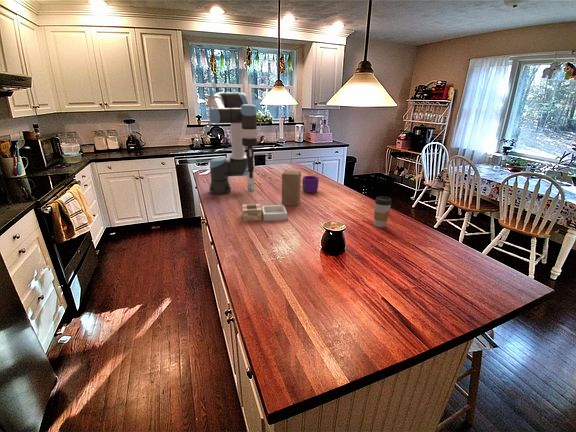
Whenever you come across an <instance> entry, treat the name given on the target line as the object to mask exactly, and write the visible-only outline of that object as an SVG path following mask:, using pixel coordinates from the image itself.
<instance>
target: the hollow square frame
mask: <svg viewBox="0 0 576 432" xmlns="http://www.w3.org/2000/svg"><path fill="white" fill-rule="evenodd" d="M241 206H242V207H241V208H242V221H243V222H249V221H250V222H251V221H252V220H254V221H255V222H256V221H262V220H263V216H262V205H261V203H243V204H242V205H241ZM252 222H253V221H252Z"/></svg>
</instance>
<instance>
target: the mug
mask: <svg viewBox="0 0 576 432" xmlns="http://www.w3.org/2000/svg"><path fill="white" fill-rule="evenodd" d="M302 190H303V192H304V193H307V194H313V193H316V192H317V191H318V190H319V177H318V176H314V175H305V176H303V177H302Z"/></svg>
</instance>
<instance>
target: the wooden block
mask: <svg viewBox="0 0 576 432" xmlns="http://www.w3.org/2000/svg"><path fill="white" fill-rule="evenodd" d="M301 174H302V171H301V170H290V169H289V170H287V169H286V170H284V171H283V172H282V174H281V205H284V206H293V207H294V206H295V207H298V205H299V203H300V201H301V184H302V183H301V182H302V181H301V180H302V179H301V178H302V177H301V176H302V175H301Z"/></svg>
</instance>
